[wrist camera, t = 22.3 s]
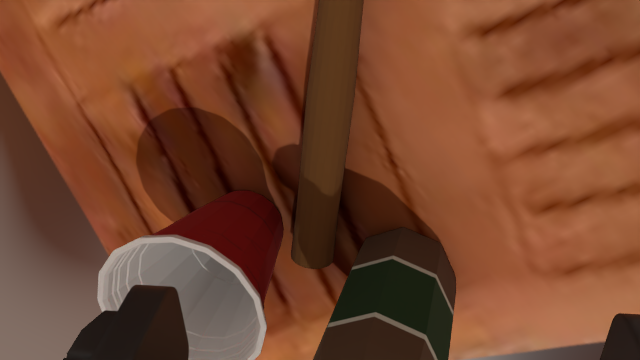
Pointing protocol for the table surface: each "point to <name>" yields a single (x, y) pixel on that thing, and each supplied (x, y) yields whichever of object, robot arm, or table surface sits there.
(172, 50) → the table surface
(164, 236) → the plastic cup
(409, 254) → the beer bottle
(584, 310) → the table surface
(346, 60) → the hammer
